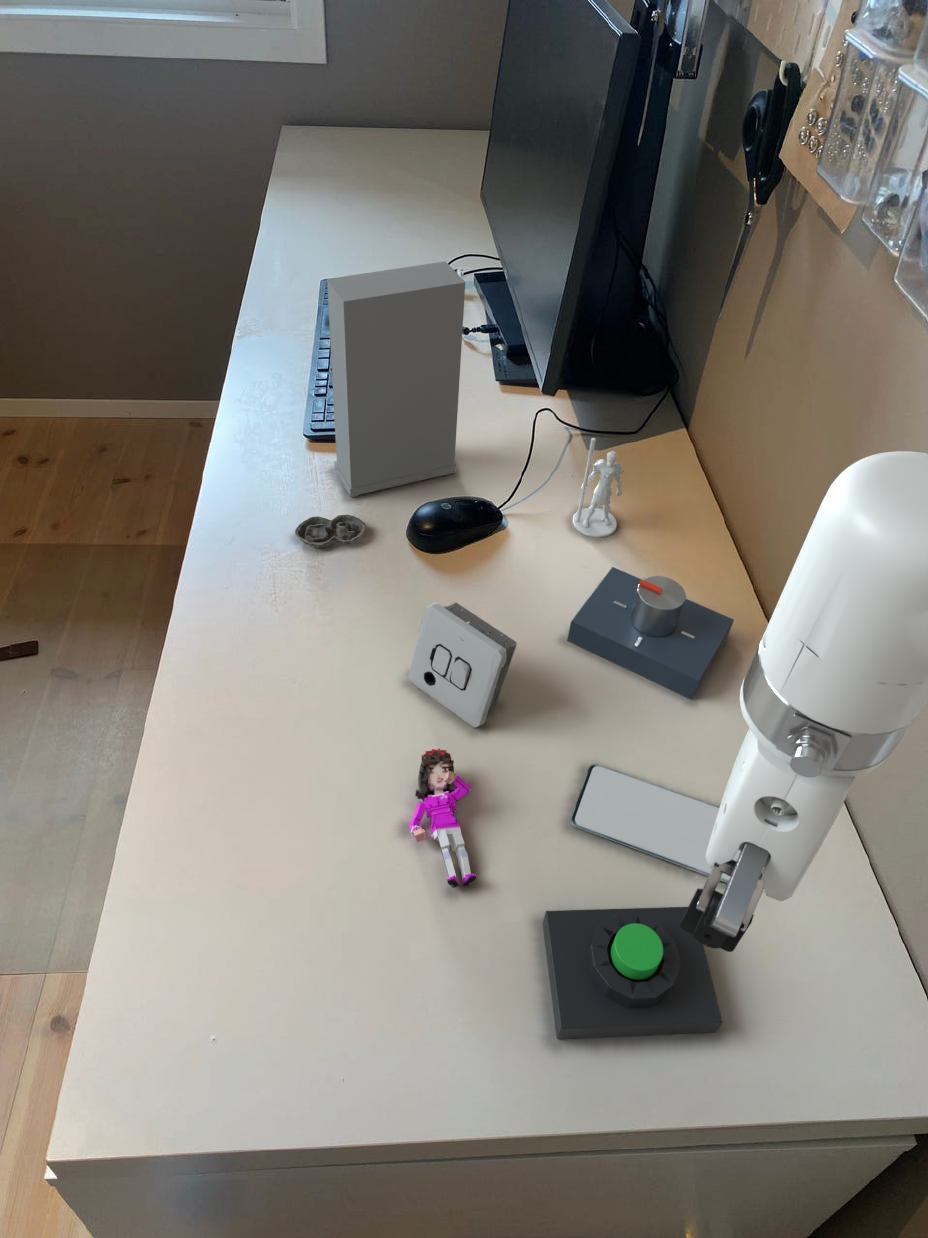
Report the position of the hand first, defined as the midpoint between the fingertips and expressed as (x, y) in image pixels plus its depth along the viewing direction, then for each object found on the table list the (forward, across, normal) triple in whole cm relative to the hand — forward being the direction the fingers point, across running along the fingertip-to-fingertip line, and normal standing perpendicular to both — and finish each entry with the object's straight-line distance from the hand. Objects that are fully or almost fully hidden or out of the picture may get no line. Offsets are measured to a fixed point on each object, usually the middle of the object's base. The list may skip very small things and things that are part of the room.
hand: (729, 870), depth 56 cm
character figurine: (+19, +4, +22) cm, 29 cm away
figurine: (+19, +49, +26) cm, 59 cm away
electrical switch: (+19, +18, +28) cm, 39 cm away
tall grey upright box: (+20, +45, +51) cm, 71 cm away
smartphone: (+19, +14, +5) cm, 24 cm away
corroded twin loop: (+19, +31, +51) cm, 63 cm away
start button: (+16, 0, +3) cm, 16 cm away
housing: (+19, 0, +3) cm, 19 cm away
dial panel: (+19, +35, +14) cm, 42 cm away
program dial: (+16, +35, +14) cm, 41 cm away
